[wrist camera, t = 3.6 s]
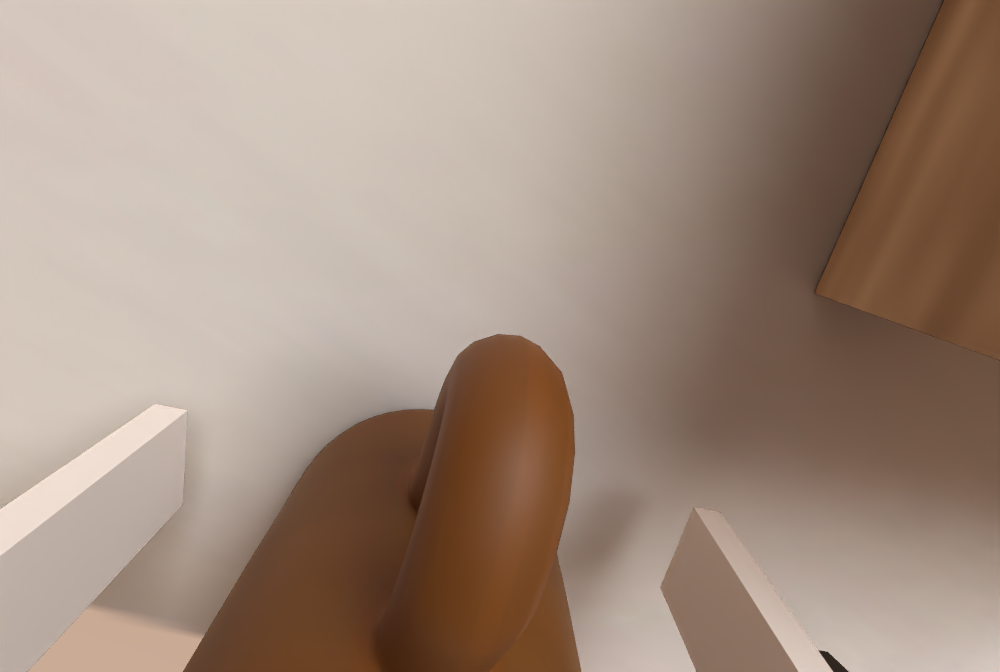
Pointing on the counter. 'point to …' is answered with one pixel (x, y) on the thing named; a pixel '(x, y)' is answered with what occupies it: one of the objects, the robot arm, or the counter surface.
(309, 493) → the mug
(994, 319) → the trapdoor frame
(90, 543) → the robot arm
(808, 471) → the counter surface
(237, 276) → the counter surface
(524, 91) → the counter surface
